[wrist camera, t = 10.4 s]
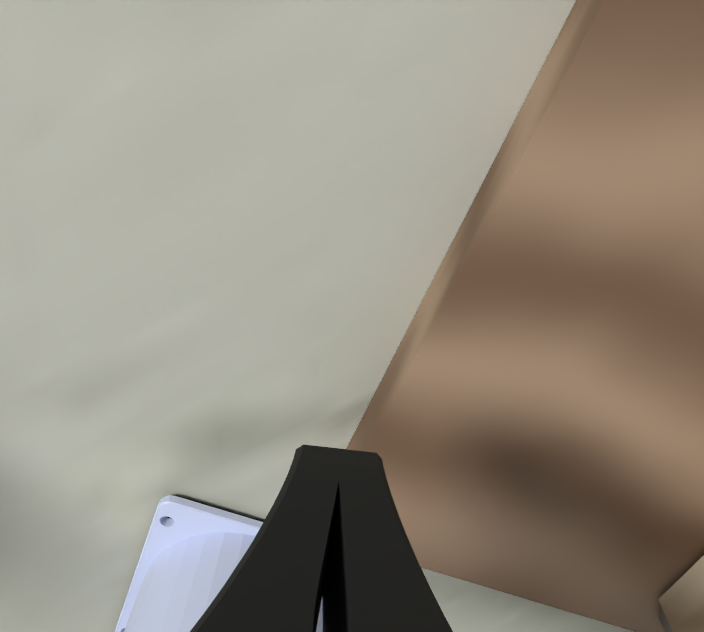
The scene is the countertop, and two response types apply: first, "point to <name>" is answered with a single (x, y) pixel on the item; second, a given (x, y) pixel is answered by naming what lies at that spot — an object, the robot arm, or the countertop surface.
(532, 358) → the wooden board
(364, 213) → the countertop surface
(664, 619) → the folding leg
